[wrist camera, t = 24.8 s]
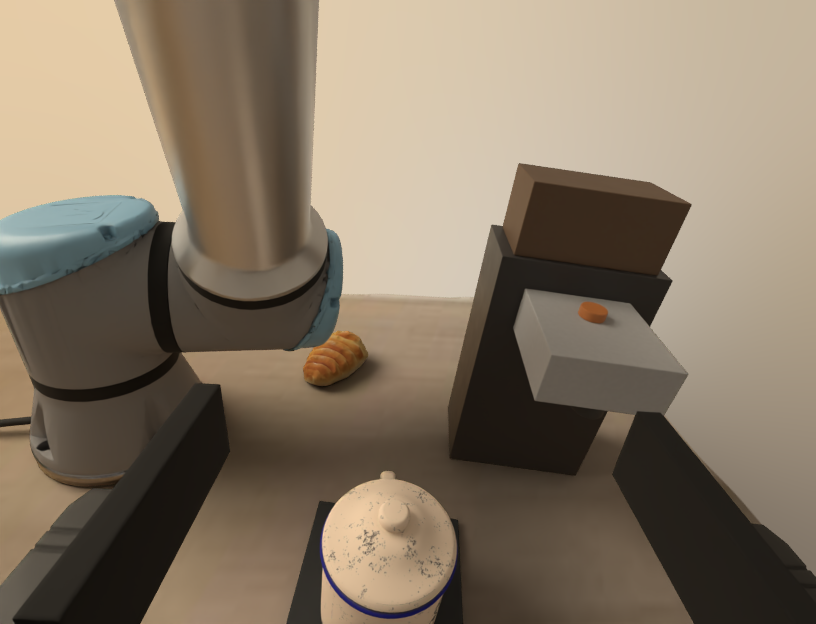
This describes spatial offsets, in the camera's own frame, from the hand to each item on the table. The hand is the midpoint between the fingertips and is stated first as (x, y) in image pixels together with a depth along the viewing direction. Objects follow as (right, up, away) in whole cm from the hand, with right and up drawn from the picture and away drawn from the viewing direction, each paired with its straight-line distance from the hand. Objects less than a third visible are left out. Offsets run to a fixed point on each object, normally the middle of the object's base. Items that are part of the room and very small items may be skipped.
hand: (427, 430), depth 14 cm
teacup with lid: (-3, -18, +20) cm, 27 cm away
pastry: (-10, -4, +44) cm, 45 cm away
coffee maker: (+11, -14, +32) cm, 36 cm away
